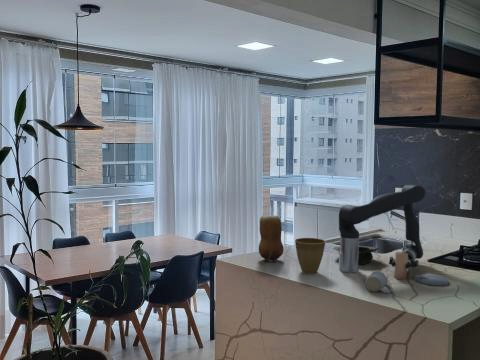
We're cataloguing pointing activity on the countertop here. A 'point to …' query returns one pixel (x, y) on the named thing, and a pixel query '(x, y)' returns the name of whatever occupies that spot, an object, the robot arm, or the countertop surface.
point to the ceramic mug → (377, 282)
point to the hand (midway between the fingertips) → (400, 265)
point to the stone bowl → (363, 254)
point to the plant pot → (309, 254)
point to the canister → (401, 265)
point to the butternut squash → (270, 238)
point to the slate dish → (431, 280)
